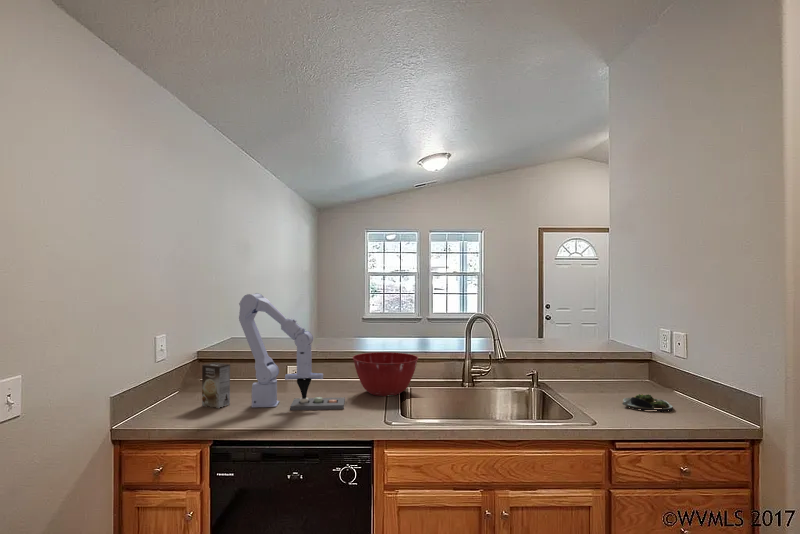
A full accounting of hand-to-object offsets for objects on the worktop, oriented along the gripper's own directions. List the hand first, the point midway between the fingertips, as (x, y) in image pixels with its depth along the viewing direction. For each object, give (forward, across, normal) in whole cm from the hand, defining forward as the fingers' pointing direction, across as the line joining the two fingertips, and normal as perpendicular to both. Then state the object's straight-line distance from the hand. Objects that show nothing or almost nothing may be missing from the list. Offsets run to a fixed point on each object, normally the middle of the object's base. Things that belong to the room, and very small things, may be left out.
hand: (304, 397), depth 201 cm
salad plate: (+4, +131, -12) cm, 132 cm away
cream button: (+2, 0, 0) cm, 2 cm away
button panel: (+3, +5, 0) cm, 6 cm away
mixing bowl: (+3, +32, +20) cm, 38 cm away
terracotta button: (+3, +11, 0) cm, 11 cm away
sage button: (+2, +5, 0) cm, 6 cm away
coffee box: (+3, -35, +4) cm, 35 cm away
